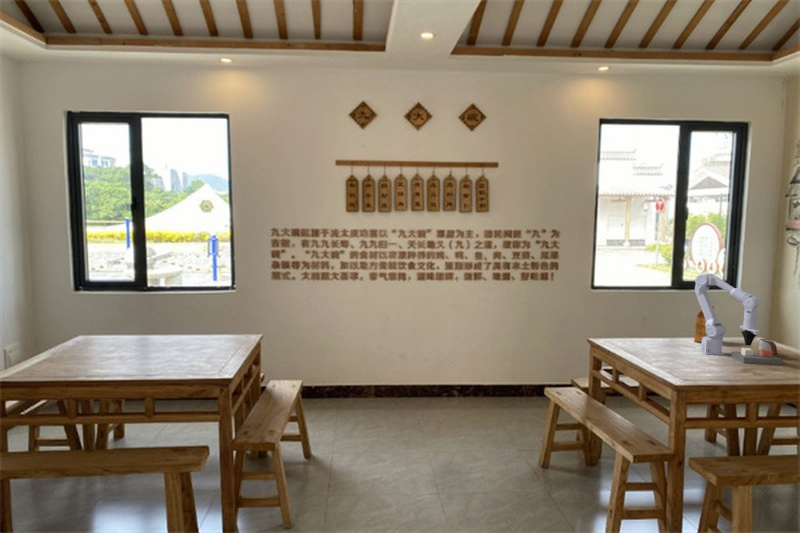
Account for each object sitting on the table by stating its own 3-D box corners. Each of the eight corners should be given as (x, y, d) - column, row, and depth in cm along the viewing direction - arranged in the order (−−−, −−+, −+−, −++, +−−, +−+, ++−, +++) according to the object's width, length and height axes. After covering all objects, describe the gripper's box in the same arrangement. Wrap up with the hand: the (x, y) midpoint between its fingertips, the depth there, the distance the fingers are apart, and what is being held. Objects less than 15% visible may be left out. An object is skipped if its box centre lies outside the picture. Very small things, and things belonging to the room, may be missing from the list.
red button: (763, 357, 263) (764, 350, 263) (759, 355, 267) (759, 348, 267) (772, 357, 263) (772, 351, 263) (767, 355, 267) (768, 349, 266)
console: (743, 363, 261) (744, 357, 261) (731, 356, 273) (731, 351, 273) (781, 365, 259) (782, 359, 259) (767, 358, 271) (768, 353, 270)
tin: (776, 359, 271) (778, 343, 270) (770, 358, 272) (771, 343, 271) (762, 351, 286) (764, 337, 285) (756, 351, 286) (758, 336, 285)
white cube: (745, 356, 265) (745, 349, 264) (740, 354, 268) (741, 347, 268) (753, 356, 264) (753, 350, 264) (749, 354, 268) (749, 348, 268)
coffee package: (719, 342, 304) (722, 306, 302) (708, 345, 298) (711, 308, 296) (702, 339, 313) (705, 304, 311) (691, 341, 307) (694, 305, 304)
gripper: (766, 322, 257) (764, 349, 258) (750, 317, 271) (748, 342, 272) (751, 322, 258) (749, 348, 259) (736, 316, 272) (734, 341, 273)
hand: (748, 345), depth 266 cm, fingers closed
